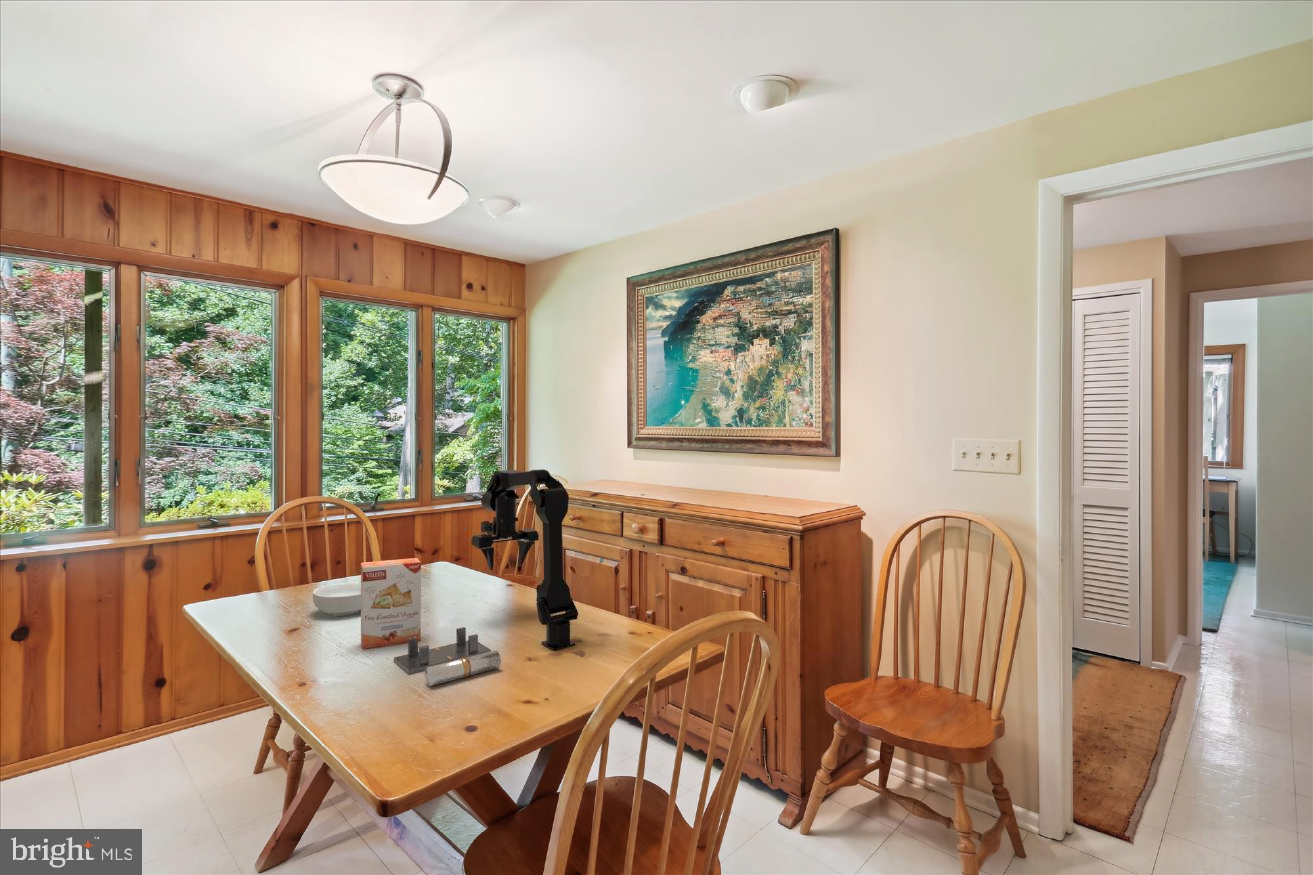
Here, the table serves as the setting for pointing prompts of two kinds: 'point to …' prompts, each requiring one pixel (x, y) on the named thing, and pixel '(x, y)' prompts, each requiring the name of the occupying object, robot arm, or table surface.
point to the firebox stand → (439, 652)
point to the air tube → (462, 668)
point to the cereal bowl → (338, 598)
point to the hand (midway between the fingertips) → (505, 567)
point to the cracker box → (390, 602)
